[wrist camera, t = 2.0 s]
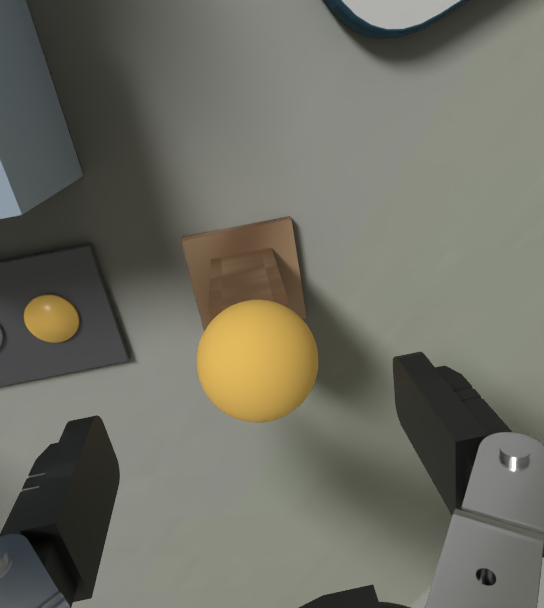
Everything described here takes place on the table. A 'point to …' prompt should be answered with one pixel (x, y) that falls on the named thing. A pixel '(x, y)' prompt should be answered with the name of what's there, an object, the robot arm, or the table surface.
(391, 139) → the table surface
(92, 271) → the card
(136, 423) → the table surface
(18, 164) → the blue open box
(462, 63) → the table surface
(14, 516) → the robot arm
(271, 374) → the ball amber
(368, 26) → the white rounded slab
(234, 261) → the brown square ball stand
